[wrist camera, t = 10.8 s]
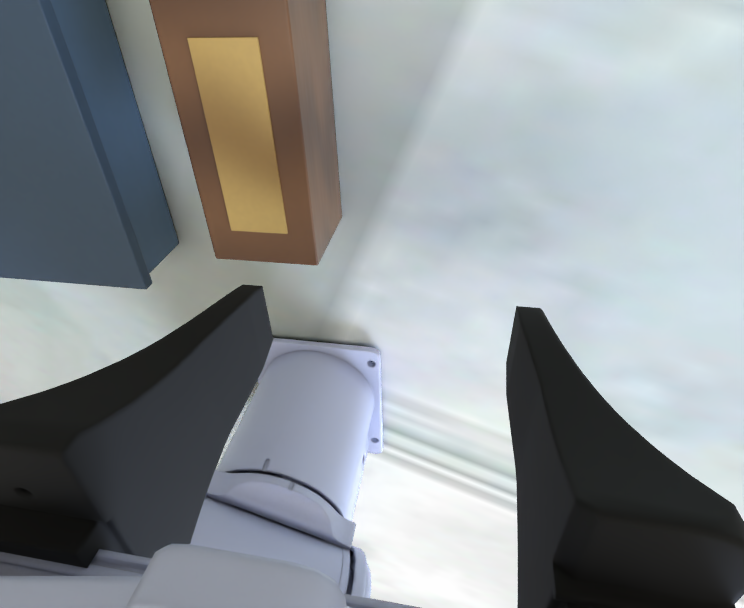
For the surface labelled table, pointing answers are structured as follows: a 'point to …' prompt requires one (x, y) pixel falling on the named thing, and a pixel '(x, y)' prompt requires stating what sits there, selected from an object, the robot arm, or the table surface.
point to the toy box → (74, 152)
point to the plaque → (257, 122)
